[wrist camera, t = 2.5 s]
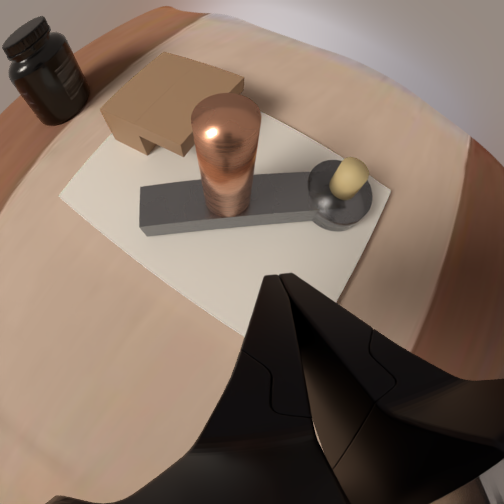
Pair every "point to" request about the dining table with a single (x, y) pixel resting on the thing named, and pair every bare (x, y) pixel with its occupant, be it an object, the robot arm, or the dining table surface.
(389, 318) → the dining table surface
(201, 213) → the link
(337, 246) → the base
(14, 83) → the supplement bottle
